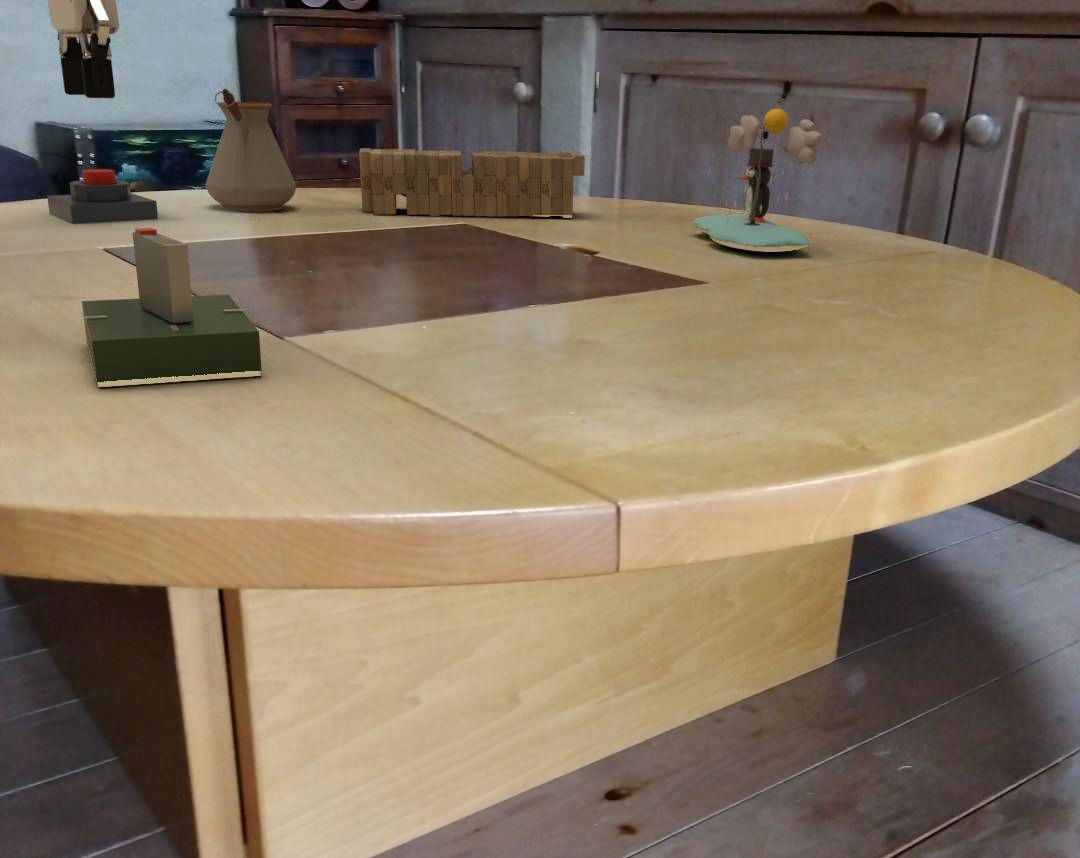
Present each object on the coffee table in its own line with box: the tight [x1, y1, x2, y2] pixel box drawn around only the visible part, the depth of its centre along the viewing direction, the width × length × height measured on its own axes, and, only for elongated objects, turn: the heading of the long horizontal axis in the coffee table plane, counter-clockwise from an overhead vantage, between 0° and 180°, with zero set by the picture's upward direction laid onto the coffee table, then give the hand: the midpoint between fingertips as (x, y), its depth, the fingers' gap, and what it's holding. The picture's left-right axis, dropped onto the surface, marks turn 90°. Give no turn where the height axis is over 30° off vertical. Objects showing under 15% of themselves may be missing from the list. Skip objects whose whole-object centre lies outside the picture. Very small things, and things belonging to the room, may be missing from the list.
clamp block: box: [81, 294, 263, 383], centre depth 75 cm, size 10×12×3 cm
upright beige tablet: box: [132, 227, 194, 324], centre depth 74 cm, size 6×1×5 cm, turn 38°
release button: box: [81, 168, 117, 185], centre depth 133 cm, size 4×4×2 cm
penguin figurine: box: [691, 108, 823, 247], centre depth 130 cm, size 20×11×15 cm, turn 6°
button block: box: [46, 179, 159, 225], centre depth 134 cm, size 10×9×4 cm
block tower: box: [358, 147, 586, 217], centre depth 149 cm, size 8×8×29 cm
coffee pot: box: [205, 88, 297, 213], centre depth 140 cm, size 21×12×15 cm, turn 5°
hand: (89, 94), depth 129 cm, fingers open, 6 cm apart
